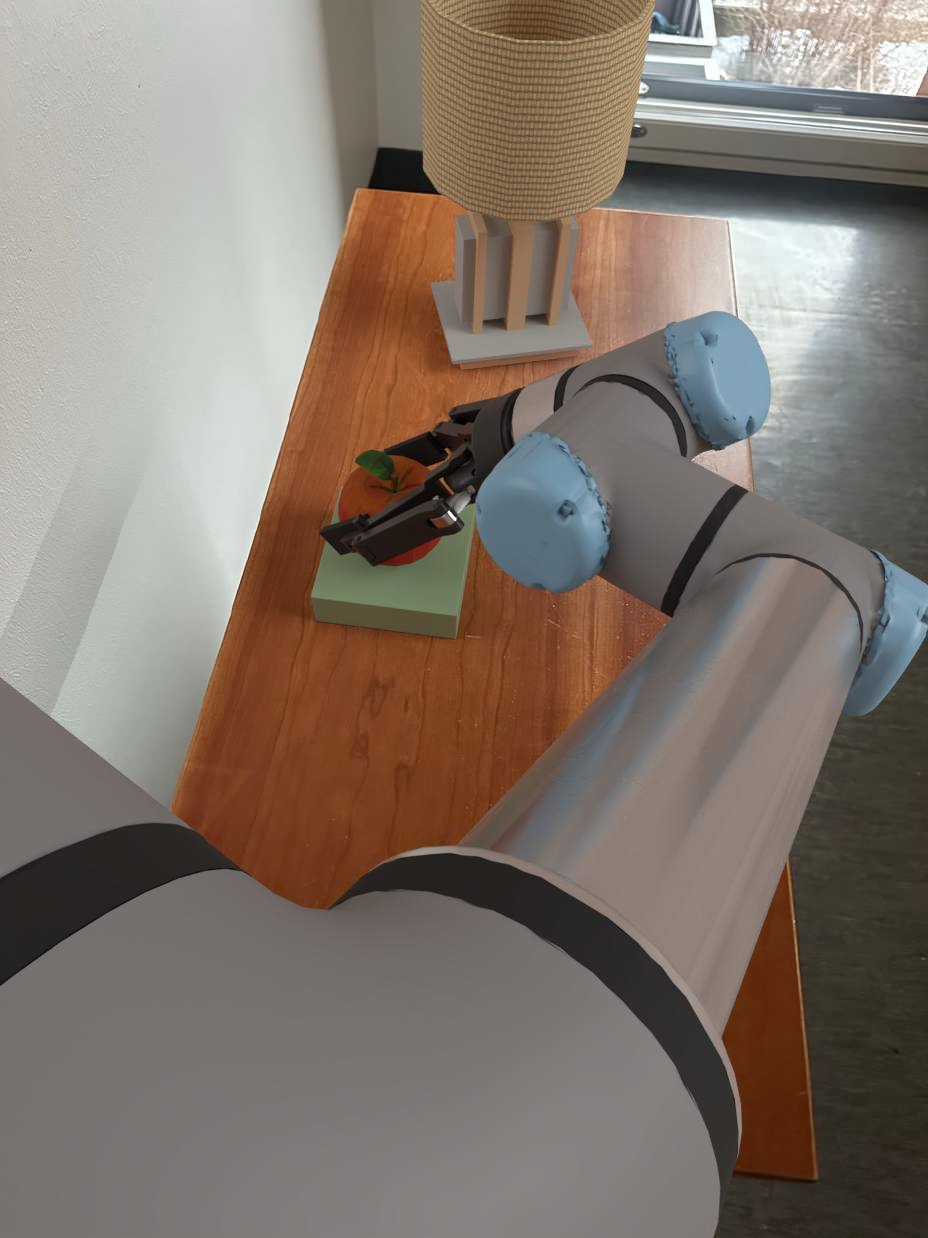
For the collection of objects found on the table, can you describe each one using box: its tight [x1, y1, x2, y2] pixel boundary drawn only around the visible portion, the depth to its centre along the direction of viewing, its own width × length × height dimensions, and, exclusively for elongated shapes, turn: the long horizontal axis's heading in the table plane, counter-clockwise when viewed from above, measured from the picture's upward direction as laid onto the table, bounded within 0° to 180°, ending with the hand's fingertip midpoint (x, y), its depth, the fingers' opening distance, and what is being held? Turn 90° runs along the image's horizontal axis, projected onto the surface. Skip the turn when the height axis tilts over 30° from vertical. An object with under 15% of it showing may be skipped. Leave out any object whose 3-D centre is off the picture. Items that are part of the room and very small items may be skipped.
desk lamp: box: [420, 0, 657, 371], centre depth 89 cm, size 20×20×35 cm
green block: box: [310, 485, 476, 640], centre depth 83 cm, size 13×13×4 cm
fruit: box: [338, 448, 441, 566], centre depth 76 cm, size 10×10×10 cm
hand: (363, 500), depth 78 cm, fingers closed on fruit, 9 cm apart
